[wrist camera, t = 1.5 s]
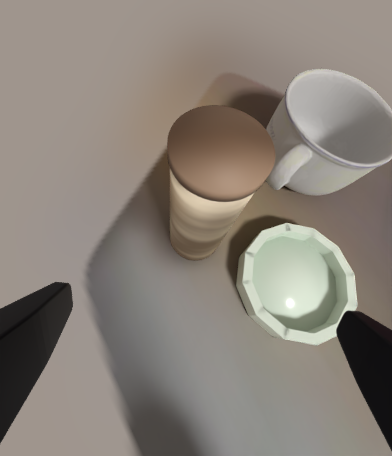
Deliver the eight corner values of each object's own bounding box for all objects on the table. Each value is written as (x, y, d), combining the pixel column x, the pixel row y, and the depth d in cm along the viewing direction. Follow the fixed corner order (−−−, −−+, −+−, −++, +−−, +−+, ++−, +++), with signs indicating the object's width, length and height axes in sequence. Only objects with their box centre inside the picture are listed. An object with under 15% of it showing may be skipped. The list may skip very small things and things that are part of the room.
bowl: (360, 315, 21) (379, 315, 19) (266, 360, 18) (276, 365, 17) (306, 220, 24) (318, 212, 22) (220, 248, 22) (225, 242, 20)
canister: (227, 252, 21) (294, 177, 10) (178, 268, 20) (188, 206, 9) (209, 207, 23) (248, 98, 12) (162, 220, 22) (154, 114, 10)
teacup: (299, 121, 29) (342, 55, 22) (359, 183, 26) (432, 131, 19) (213, 163, 25) (230, 99, 18) (273, 240, 22) (323, 203, 15)
